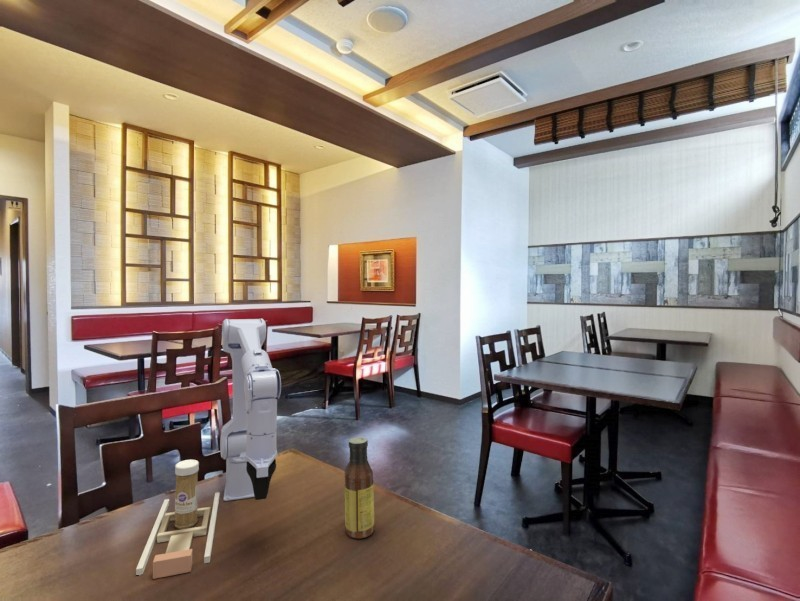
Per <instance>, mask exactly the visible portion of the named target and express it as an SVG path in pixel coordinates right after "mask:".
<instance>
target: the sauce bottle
mask: <svg viewBox="0 0 800 601" xmlns="http://www.w3.org/2000/svg"><path fill="white" fill-rule="evenodd" d="M368 441H369V440H368V438H366V437H363V436H356V437H355V436H354V437H352V438H350V439H349V440H348V448H349V458H348V459H349V462H348V463H347V465H346V467H345V469H344V484H343V486H344V520H345V521H344V523H345V524H344V525H345V531H346V534H347V535H348V536H349V537H350V538H353V539H364V538H368V537H369V536H371V535H373V533H374V531H375V530H374V529H375V491H374V490H375V486H374V474H373V473H374V472H373V470H372V468H371V466H370V463H369V460H368V459H369V458H368V446H369V442H368Z"/></svg>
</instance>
